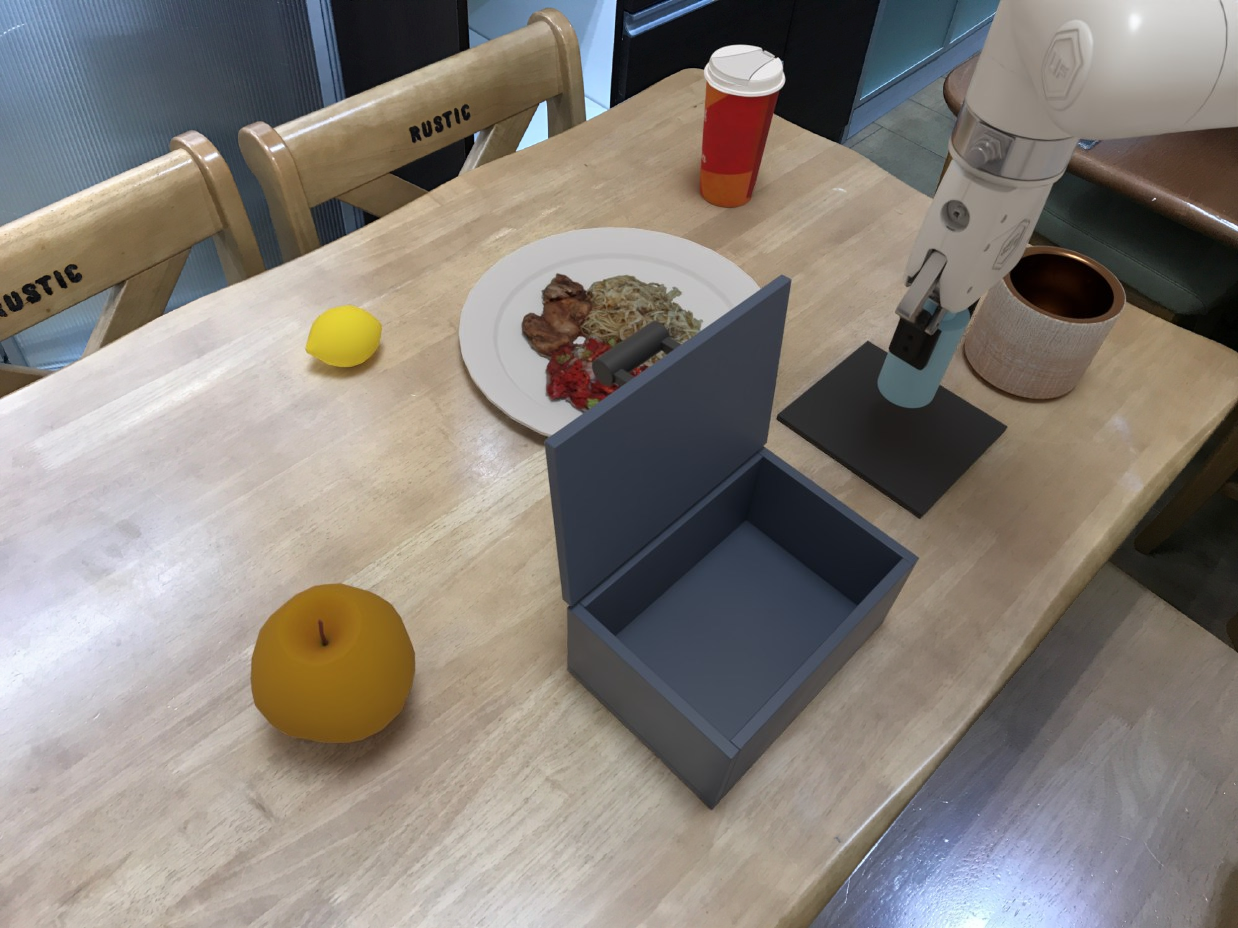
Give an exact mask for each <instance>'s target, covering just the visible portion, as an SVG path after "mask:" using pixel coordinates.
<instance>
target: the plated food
mask: <svg viewBox="0 0 1238 928" xmlns="http://www.w3.org/2000/svg"><path fill="white" fill-rule="evenodd" d="M760 289H761V287H760V286H759V285H758V284H757V282H756V281H755V280H754V279H753V278H752V277H751V276H750V275H749V274H748V273H746V272H745V271H744V270H743V269H742V268H741V267H739V266H738V265H737V264H736V263H735V262H734V261H731V260H729V258H726V257H724V256H723V255H721V254H719V253H718V252H716V251H714V249H711V248H709V247H706V246H703V245H702V244H699V243H697V242H694V241H692V240H690V239H687V238H683V237H680V236H676V235H672V234H669V233H665V232H662V231H656V230H650V229H644V228H643V229H642V228H636V227H616V226H615V227H614V226H613V227H611V226H610V227H609V226H601V227H592V228H591V227H590V228H582V229H581V228H580V229H573V230H568V231H564V232H560V233H556V234H552V235H551V234H550V235H548V236H546V237H542V238H541V239H537V240H535V241H532V242H530V243H527V244H524V245H523V246H521V247H518V248H517V249H516V250H514V251H512V252H510V253H508V254H507V255H504V256H503V257H502V258H501V259H499V260H498V261H497V262H496V263H494V265H492V266H491V267H490V268H488V269H487V270H486V271H485V272H484V273H483V274H482V275H481V277H480V278H479V279H478V281H477V282H476V283H475V284H474V286H473V287H472V288H471V289H470V291H469V293H468V295H467V297H466V300H465V302H464V305H463V306H462V309H461V310H460V311H461V313H460V320H459V326H458V339H459V345H460V352H461V358H462V360H463V363H464V365H465V367H466V369H467V371H468V373H469V376H470V378H471V380H472V381H473V383H474V384H475V385H476V387H477V388H478V389H479V390H480V391H481V393H482V394H483V395H484V396H485V398H486V399H487V400H488V401H489V402H490V403H491V404H492V405H494V406H495V407H496V408H498V409H499V410H500V411H501V412H502V413H503V414H505V415H506V416H508V417H509V418H510V419H511V420H513V421H514V422H516V423H519V424H520V425H522V426H524V427H526V428H528V429H529V430H532V431H534V432H536V433H538V434H539V435H542V436H544V437H547V438H549V437H550V436H552V435H553V434H554V433H556V432H557V431H559V430H560V429H562V428H563V427H564V426H566V425H567V424H569V423H570V422H572V421H573V420H574V419H576V418H577V417H579V416H580V415H581V414H583V413H584V412H586V411H587V410H589V409H590V408H591V407H593V406H594V405H596V404H597V403H599V402H600V401H601V400H603V399H604V398H606V397H607V396H609V395H610V394H611V393H613V392H614V391H616V390H617V389H619V388H620V386H618V385H617V384H615V383H614V384H613V385H611V386H605V385H603V384H602V383H601V382H600V381H599V380H598V379H597V378H596V376H595V375H594V373H593V370H592V362H593V360H595V359H596V358H598V357H599V356H601V355H602V354H604V353H605V352H607V351H608V350H610V349H611V348H613V347H614V346H616V345H617V344H619V343H620V342H622V341H623V340H625V339H626V338H628V337H629V336H631V335H632V334H634V333H635V332H637V331H638V330H640V329H641V328H643V327H644V326H646V325H647V324H649V323H650V322H652V321H658V322H660V323H662V324H663V325H664V326H665V327H666V328H667V330H668V332H669V334H670V338H672V339H673V340H675V341H677V342H678V343H680V344H683V343H684V342H686V341H687V340H689V339H690V338H691V337H693V336H694V335H696V334H697V333H699V332H700V331H701V330H703V329H704V328H706V327H707V326H709V325H710V324H711V323H713V322H714V321H716V320H717V319H719V318H720V317H721V316H723V315H724V314H726V313H727V312H729V311H730V310H731V309H733V308H734V307H736V306H737V305H739V304H740V303H741V302H743V301H744V300H746V299H747V298H749V297H750V296H751V295H753V294H754V293H756V292H757V291H759V290H760ZM666 355H667V354H666V353H665V352H663V351H660V352H659V353H658V354H656V355H655V356H653V357H652V358H650V359H649V360H647V361H646V362H645V363H643V364H642V365H640V366H639V367H637V368H636V369H634V370H633V371H632V372H630V373H629V374H631V375H632V376H634V377H636V376H637V375H639V374H640V373H641V372H643V371H644V370H646V369H647V368H649V367H650V366H651V365H653V364H654V363H656V362H657V361H659V360H660V359H661V358H663V357H664V356H666ZM780 362H781V359H780V360H779V363H780Z"/></svg>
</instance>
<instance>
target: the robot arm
mask: <svg viewBox="0 0 1238 928" xmlns="http://www.w3.org/2000/svg"><path fill="white" fill-rule="evenodd" d="M1237 127H1238V0H999V2H998V6H997V9H996V11H995V14H994V16H993V19H992V21H991V25H990V27H989V30H988V33H987V35H986V38H985V41H984V43H983V46H982V49H981V52H980V54H979V57H978V60H977V62H976V66H975V68H974V70H973V74H972V77H971V79H970V82H969V84H968V87H967V90H966V94H965V95H964V98H963V100H962V104H961V107H960V109H959V112H958V114H957V117H956V120H955V122H954V125H953V128H952V131H951V134H950V136H949V139H948V142H947V149H948V153H949V154H950V156H951V158H952V159H951V160H950V162H949V165H948V167H947V169H946V170H945V173H944V175H943V177H942V179H941V181H940V183H939V185H938V187H937V189H936V192H935V194H934V196H933V198H932V200H931V202H930V205H929V207H928V209H927V212H926V213H925V216H924V219H923V221H922V223H921V226H920V228H919V230H918V232H917V235H916V238H915V240H914V243H913V245H912V248H911V250H910V253H909V256H908V258H907V262H906V264H905V268H904V273H903V284H904V286H905V288H908V289H907V291H906V293H905V294H904V295H903V297H902V298H901V300H900V302H899V303H898V304H897V306H896V307H895V310H894V314H896V315H897V316H899V317H898V318H899V319H898V322H897V325H896V328H895V330H894V332H893V335H892V338H891V340H890V343H889V345H888V352H890V353H891V354H893V355H895V356H896V357H898V358H899V359H901V360H903V361H904V362H906V363H908V364H909V365H911V366H912V367H914V368H916V369H917V370H923V369H924V368H925V367H926V366H927V364H928V362H929V359H930V357H931V355H932V352H933V350H934V348H935V346H936V343H937V341H938V339H939V337H940V334H941V332H942V331H941V330H939V329H938V327H939V326H940V324H941V322H942V320H943V318H944V316H945V314H946V313H947V311H948V310H949V312H951V313H957V312H961V311H963V310H965V309H967V308H968V310H969V313H970V320H969V322H970V321H971V319H972V317H973V315H974V313H975V310H976V308H977V306H978V304H979V302H980V300H981V297H982V296H984V295H985V294H987V293H988V291H989V289H991V288H992V287H993V286H994V285H995V284H996V283H997V282H999V281H1000V280H1001V279H1002V278H1003V277H1004V276H1005V275H1006V274H1007V273H1009V272H1010V271H1011V270H1012V269H1013V268H1014V267H1015V265H1016V264H1017V263H1018V262H1019V260H1020V259H1021V257H1022V255H1023V253H1024V251H1025V249H1026V247H1028V244H1029V242H1030V241H1031V240H1030V239H1031V238H1032V235H1033V233H1034V230H1035V228H1036V226H1037V224H1038V222H1039V219H1040V216H1041V214H1042V212H1043V209H1044V208H1045V205H1046V202H1047V200H1048V198H1049V195H1050V193H1051V190H1052V188H1053V186H1054V183H1056V182H1058V181H1059V180H1060V179H1061V178H1062V177H1063V175H1064V174H1065V171H1066V170H1067V168H1068V165H1069V164H1070V161H1071V160H1072V158H1073V155H1074V153H1075V151H1076V149H1077V147H1078V145H1079V143H1080V141H1081V140H1085V141H1086V140H1087V141H1111V140H1122V139H1132V138H1140V137H1150V136H1159V135H1164V134H1172V133H1183V132H1184V133H1185V132H1194V131H1203V130H1211V129H1226V128H1237ZM938 283H939V288H938V287H936V285H937V284H938ZM928 298H930V299H931V300H933V301H935V302H937V303H938V306H937V308H936V309H935V311H934V313H933V315H931V314H930V312H929V311H927V310H925V309H924V308H923V306H924V304H925V302H926V301H927V299H928ZM968 325H969V324H968ZM968 325H967V327H966V329H965V331H964V333H966V330H967V328H968Z"/></svg>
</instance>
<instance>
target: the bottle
mask: <svg viewBox="0 0 1238 928" xmlns="http://www.w3.org/2000/svg"><path fill="white" fill-rule="evenodd" d="M936 287H938V288H939V283H938V284H937V285H936ZM937 306H938V303H937V302H935V301H933V300H931V299H930V298H928V299H927V301H926V302H925V304H924V306H923V308H924V309H925V310H927V311H929V312H930V314H931V315H933V313H934V311H935V309H936V308H937ZM969 320H970V321H971V319H970V313H969V310H968V308H967V309H965V310H963V311H961V312H957V313H951V312H949V310H948V311H947V313H946V314H945V316H944V318H943V320H942V322H941V324H940V326H939V327H938V329H939V330H941V331H942V332H941V334H940V337H939V339H938V341H937V343H936V346H935V348H934V350H933V352H932V355H931V357H930V359H929V362H928V364H927V366H926V367H925V368H924V369H923V370H917V369H916V368H914V367H912V366H911V365H909V364H908V363H906V362H904V361H903V360H901V359H899V358H898V357H896V356H895V355H893V354H891V353H890V352H889V351H887V353H888V354H887V357H886V359H885V362H884V365H883V367H882V370H881V372H880V375H879V378H878V388H879V390H880V392H881V393H882V395H883V396H884V397H885V398H886V399H887V400H889V401H890V402H892V403H894V404H896V405H899V406H902V407H906V408H919V407H923V406H925V405H927V404H929V403H930V402H931V401H932V399H933V398H934V396H935V393H936V391H937V389H938V387H939V385H941V382H942V381H943V379H944V376H945V374H946V373H947V370H948V368H949V366H950V363H951V362H952V359H953V358H954V355H955V353H956V351H957V348H958V347H959V344H960V342H961V340H962V338H963V337H964V333H965V332H966V330H967V328H968V326H967V325H969V323H970V321H969ZM966 327H967V328H966ZM965 329H966V330H965ZM964 331H965V332H964Z"/></svg>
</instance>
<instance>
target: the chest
mask: <svg viewBox="0 0 1238 928" xmlns="http://www.w3.org/2000/svg"><path fill="white" fill-rule="evenodd" d="M919 560H920V557H919V556H917V555H916V554H915V553H914V552H912V551H911V550H909V549H908V548H907V547H905V546H904V545H903V544H902V543H899V542H898V541H897V540H896V539H894V538H893V537H891V536H890V535H888V534H887V533H886V532H884V531H883V530H882V529H880V528H879V527H877V526H876V525H875V524H873V523H871V522H870V521H869V520H868V519H866V518H865V517H863V516H862V515H860V514H859V513H858V512H856V511H855V510H853V509H852V508H851V507H849V506H848V505H847V504H845V503H843V502H842V501H841V500H840V499H838V498H837V497H835V496H834V495H833V494H831V493H830V492H828V491H827V490H825V489H824V488H823V487H822V486H820V485H819V484H817V483H816V482H815V481H813V480H811V479H810V478H809V477H808V476H806V475H804V474H803V473H802V472H801V471H799V470H798V469H796V468H795V467H794V466H792V465H791V464H789V463H788V462H787V461H786V460H784V459H783V458H781V457H779V456H778V455H777V454H775V453H774V452H773V451H772V450H770V449H769V448H767V447H766V446H765V445H764V446H763V447H761V448H760V449H759V450H758V451H757V452H756V453H754V454H753V455H752V456H751V457H750V458H748V459H747V460H746V461H745V462H744V463H742V464H741V465H740V466H739V467H738V468H736V469H735V470H734V471H733V472H732V473H730V474H729V475H728V476H727V477H726V478H724V479H723V480H722V481H721V482H720V483H718V484H717V485H716V486H715V487H714V488H712V489H711V490H710V491H709V492H708V493H706V494H705V495H704V496H703V497H702V498H700V499H699V500H698V501H697V502H696V503H694V504H693V505H692V506H691V507H690V508H688V509H687V510H686V511H685V512H684V513H682V514H681V515H680V516H679V517H678V518H676V519H675V520H674V521H673V522H672V523H671V524H669V525H668V526H667V527H666V528H665V529H663V530H662V531H661V532H660V533H659V534H657V535H656V536H655V537H654V538H653V539H651V540H650V541H649V542H648V543H647V544H645V545H644V546H643V547H642V548H641V549H639V550H638V551H637V552H636V553H635V554H633V555H632V556H631V557H630V558H629V559H627V560H626V561H625V562H624V563H623V564H621V565H620V566H619V567H618V568H617V569H615V570H614V571H613V572H612V573H611V574H609V575H608V576H607V577H606V578H605V579H603V580H602V581H601V582H600V583H599V584H597V585H596V586H595V587H594V588H593V589H591V590H590V591H589V592H588V593H587V594H585V595H584V596H583V597H582V598H581V599H580V600H578V601H577V602H576V603H575V604H574V605H572V606H570V605H567V607H566V661H567V662H566V666H567V667H566V670H567V672H569V673H570V674H571V675H572V676H573V677H574V678H575V679H576V680H577V681H578V682H579V683H580V684H581V685H583V687H584V688H586V690H587V691H588V692H589V693H590V694H592V695H593V696H594V697H595V698H596V699H597V700H598V701H599V702H600V703H601V704H602V705H603V706H604V707H605V708H606V709H607V710H608V711H609V712H610V713H611V714H612V715H613V716H614V717H616V719H617V720H618V721H620V723H621V724H622V725H624V726H625V727H626V728H627V729H628V730H629V731H630V732H631V733H632V734H633V735H634V736H635V737H636V738H637V739H638V740H639V741H640V742H641V743H642V744H643V745H644V746H645V747H646V748H647V749H648V750H649V751H650V752H651V753H653V755H654V756H655V757H657V758H658V759H659V760H660V761H661V763H663V764H664V765H665V766H666V767H667V768H668V769H669V770H670V771H671V772H672V773H673V774H674V775H675V776H676V777H677V778H678V779H679V780H680V781H681V782H682V783H683V784H684V785H685V786H687V788H689V790H691V791H692V792H693V793H694V794H695V796H697V797H698V798H699V799H700V800H701V802H703V803H704V804H705V805H706V806H707V807H708V808H709V809H710V810H713V809H714V808H715V807H716V806H717V805H719V803H720V802H721V801H722V800H723V798H724V797H725V796H726V795H728V793H729V792H730V791H731V790H732V789H733V787H735V786H736V784H738V782H739V781H740V780H741V779H742V778H743V776H745V775H746V774H747V773H748V772H749V770H750V769H751V768H752V767H753V765H754V764H755V763H757V761H758V760H759V759H760V758H761V757H762V756H763V755H764V753H766V751H767V750H768V749H769V748H770V747H771V746H772V745H773V744H774V743H775V742H776V740H777V739H779V737H780V736H781V735H782V734H783V733H784V732H785V731H786V729H788V727H789V726H790V725H791V724H792V723H793V722H794V721H795V720H796V719H797V717H799V716H800V714H801V713H802V712H803V711H804V710H805V709H806V707H808V705H809V704H810V703H811V702H812V701H813V700H814V699H815V698H816V697H817V695H818V694H819V693H820V692H821V691H822V690H823V689H824V688H825V687H826V685H828V683H830V681H831V680H832V679H833V678H834V677H835V676H836V675H837V674H838V672H839V671H840V670H841V669H842V668H843V667H844V666H845V665H846V664H847V663H848V662H849V661H850V659H851V658H853V656H854V655H855V654H856V652H857V651H859V650H860V649H861V648H862V646H863V645H865V643H866V642H867V641H868V640H869V638H870V637H871V636H872V635H873V634H874V633H875V632H876V631H877V630H878V629H879V628H880V627H881V626H882V624H883V623H884V622H885V620H886V618H887V616H888V615H889V613H890V611H891V610H892V608H893V606H894V604H895V602H896V600H897V599H898V596H900V594H901V592H902V590H903V588H904V586H905V585H906V583H907V581H908V579H909V577H910V575H911V574H912V572H913V570H914V569H915V566H916V565H917V563H918V561H919Z"/></svg>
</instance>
